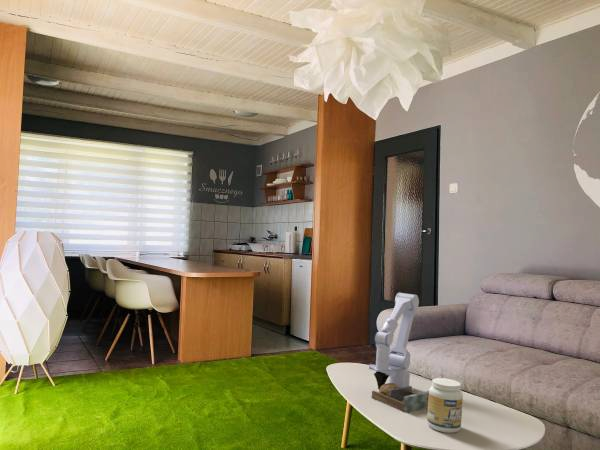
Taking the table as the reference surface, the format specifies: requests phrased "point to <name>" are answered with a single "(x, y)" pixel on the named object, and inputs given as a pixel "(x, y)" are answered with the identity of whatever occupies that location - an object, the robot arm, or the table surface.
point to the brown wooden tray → (410, 401)
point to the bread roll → (387, 388)
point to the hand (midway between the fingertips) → (380, 389)
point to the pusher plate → (400, 393)
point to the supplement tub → (445, 405)
